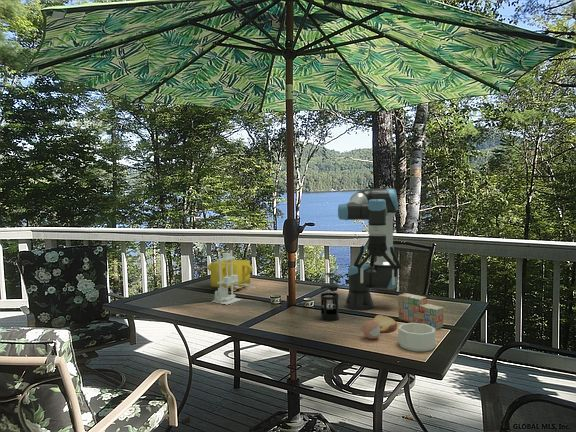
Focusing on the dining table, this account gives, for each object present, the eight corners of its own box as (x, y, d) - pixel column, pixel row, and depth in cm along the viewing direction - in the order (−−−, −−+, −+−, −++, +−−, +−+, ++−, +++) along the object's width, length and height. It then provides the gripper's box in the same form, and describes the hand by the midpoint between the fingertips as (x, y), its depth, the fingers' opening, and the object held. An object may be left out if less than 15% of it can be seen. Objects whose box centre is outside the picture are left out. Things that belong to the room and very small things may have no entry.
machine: (211, 302, 246) (210, 251, 244) (226, 298, 256) (225, 249, 254) (249, 310, 230) (248, 255, 228) (263, 304, 240) (262, 252, 238)
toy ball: (376, 342, 177) (376, 324, 176) (359, 339, 181) (359, 321, 180) (383, 337, 183) (383, 319, 183) (366, 334, 188) (366, 316, 187)
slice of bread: (382, 318, 211) (382, 310, 211) (410, 327, 196) (410, 319, 196) (355, 324, 202) (354, 317, 202) (382, 335, 187) (382, 327, 186)
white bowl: (396, 348, 170) (396, 331, 169) (402, 337, 183) (402, 321, 182) (432, 353, 164) (432, 336, 164) (436, 341, 177) (436, 325, 176)
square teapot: (263, 285, 289) (263, 254, 288) (241, 295, 262) (240, 261, 260) (220, 281, 303) (219, 252, 302) (195, 291, 276) (194, 259, 275)
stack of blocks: (443, 326, 196) (443, 300, 195) (435, 329, 192) (435, 303, 191) (406, 316, 213) (406, 292, 212) (398, 318, 209) (397, 294, 208)
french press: (332, 322, 204) (331, 276, 203) (316, 319, 210) (315, 274, 209) (344, 316, 214) (343, 272, 213) (328, 313, 220) (327, 270, 218)
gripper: (346, 235, 183) (347, 283, 184) (406, 236, 174) (406, 287, 175) (350, 233, 190) (351, 280, 191) (407, 234, 181) (408, 283, 182)
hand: (377, 283), depth 183 cm, fingers open, 13 cm apart
